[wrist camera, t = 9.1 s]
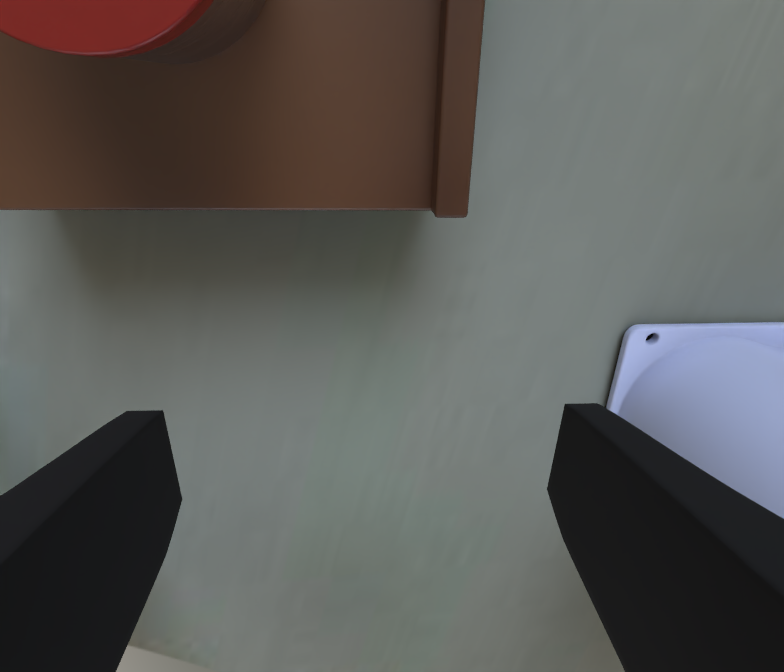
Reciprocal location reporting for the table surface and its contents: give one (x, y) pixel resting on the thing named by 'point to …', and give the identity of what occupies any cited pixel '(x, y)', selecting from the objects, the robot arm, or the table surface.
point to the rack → (255, 116)
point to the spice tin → (130, 27)
